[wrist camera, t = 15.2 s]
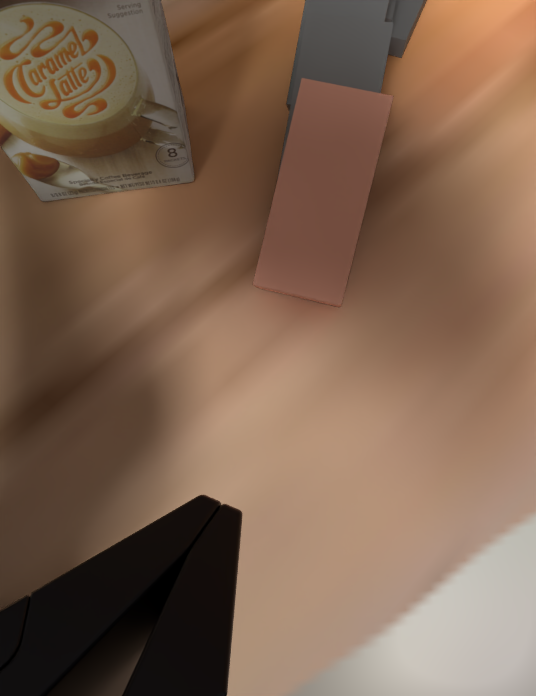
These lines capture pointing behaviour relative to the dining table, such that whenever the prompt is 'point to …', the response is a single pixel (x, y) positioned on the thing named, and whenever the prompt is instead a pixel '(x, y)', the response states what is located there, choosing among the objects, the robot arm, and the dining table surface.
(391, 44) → the domino
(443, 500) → the dining table surface
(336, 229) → the loose domino
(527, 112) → the dining table surface
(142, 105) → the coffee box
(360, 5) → the domino
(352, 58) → the domino
